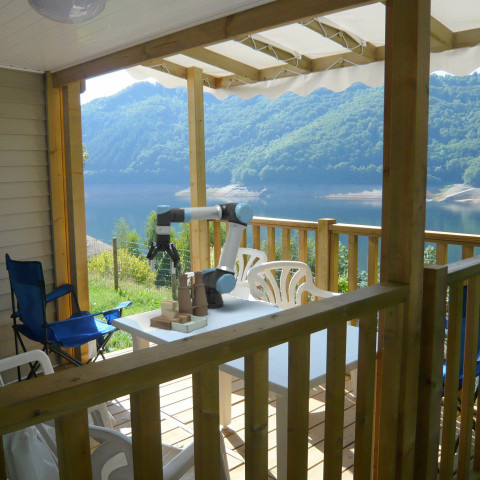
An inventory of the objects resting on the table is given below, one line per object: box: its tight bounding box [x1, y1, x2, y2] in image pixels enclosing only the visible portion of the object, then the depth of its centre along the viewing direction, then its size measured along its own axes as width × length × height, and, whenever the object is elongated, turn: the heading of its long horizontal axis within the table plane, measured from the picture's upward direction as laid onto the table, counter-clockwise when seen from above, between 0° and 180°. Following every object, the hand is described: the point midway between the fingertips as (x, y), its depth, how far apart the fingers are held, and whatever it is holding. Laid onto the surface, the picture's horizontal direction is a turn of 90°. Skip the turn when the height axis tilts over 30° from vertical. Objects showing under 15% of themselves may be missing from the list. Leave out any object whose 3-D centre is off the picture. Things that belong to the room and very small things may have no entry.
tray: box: [171, 316, 208, 334], centre depth 262 cm, size 16×11×4 cm
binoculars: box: [176, 270, 209, 317], centre depth 284 cm, size 21×10×25 cm, turn 133°
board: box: [149, 313, 193, 331], centre depth 269 cm, size 18×14×4 cm
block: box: [160, 299, 179, 319], centre depth 269 cm, size 6×7×8 cm
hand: (162, 272), depth 274 cm, fingers open, 13 cm apart
